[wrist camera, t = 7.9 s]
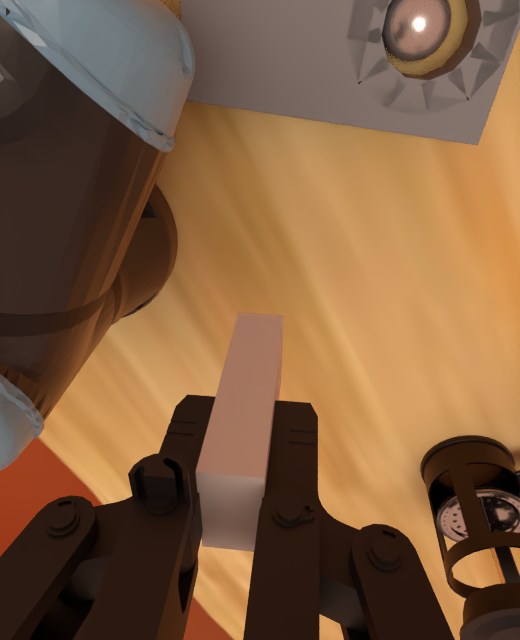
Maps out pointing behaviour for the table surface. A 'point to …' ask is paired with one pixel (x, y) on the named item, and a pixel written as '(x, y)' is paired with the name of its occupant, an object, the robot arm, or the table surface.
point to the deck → (345, 65)
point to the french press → (478, 530)
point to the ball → (416, 27)
